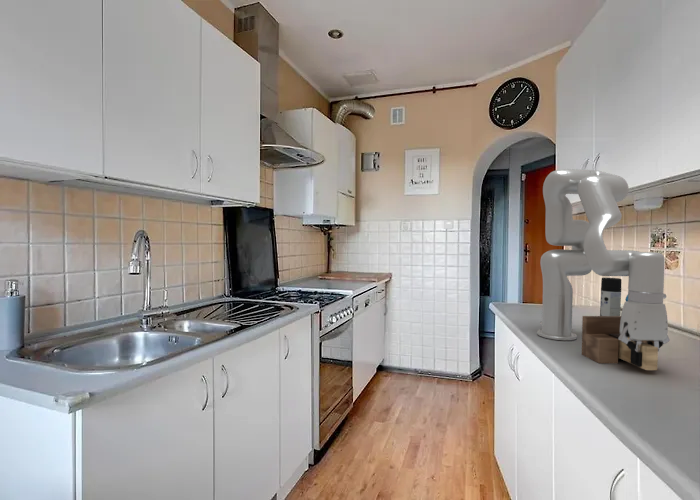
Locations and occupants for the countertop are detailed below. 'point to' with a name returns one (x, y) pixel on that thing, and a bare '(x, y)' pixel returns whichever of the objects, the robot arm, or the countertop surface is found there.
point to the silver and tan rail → (647, 351)
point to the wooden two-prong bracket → (600, 338)
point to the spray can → (610, 297)
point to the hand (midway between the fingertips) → (642, 364)
